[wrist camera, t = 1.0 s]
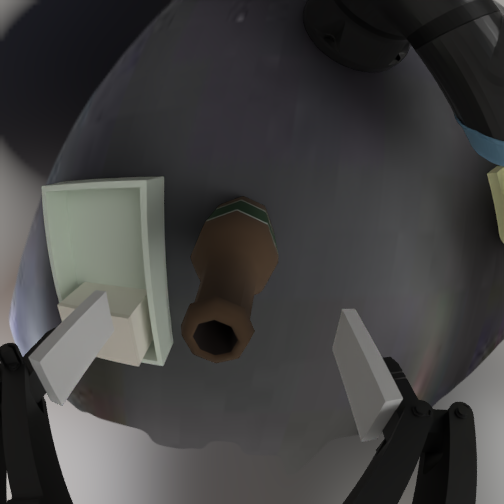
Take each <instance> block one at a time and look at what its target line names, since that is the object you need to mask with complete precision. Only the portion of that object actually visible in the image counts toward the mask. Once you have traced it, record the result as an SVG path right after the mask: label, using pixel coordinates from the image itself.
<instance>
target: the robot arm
mask: <svg viewBox="0 0 504 504" xmlns="http://www.w3.org/2000/svg"><path fill="white" fill-rule="evenodd" d="M303 19H304V25H305V28H306V31H307V33H308V35H309V36H310V38H311V39H312V41H313V42H314V43H315V45H316V46H317V47H318V48H319V49H320V50H321V51H322V52H323V53H325V54H326V55H327V56H329V57H330V58H331V59H333V60H335V61H336V62H338V63H340V64H342V65H344V66H346V67H349V68H351V69H355V70H358V71H364V72H381V71H385V70H387V69H390V68H391V67H393V66H395V65H396V64H398V63H399V62H401V61H402V60H403V59H404V58H405V56H406V55H407V53H408V51H409V48H410V46H412V47H413V48H414V49H415V51H416V53H417V54H418V55H419V57H420V58H421V59H422V61H423V62H424V64H425V65H426V67H427V68H428V69H429V71H430V72H431V74H432V75H433V77H434V79H435V80H436V82H437V83H438V85H439V87H440V88H441V90H442V92H443V94H444V95H445V97H446V99H447V101H448V103H449V104H450V106H451V108H452V110H453V112H454V116H455V119H456V120H457V122H458V123H459V124H460V125H461V126H462V128H463V130H464V132H465V134H466V136H467V138H468V140H469V142H470V144H471V146H472V147H473V149H474V150H475V151H476V152H477V153H478V154H479V155H480V156H482V157H484V158H485V159H486V160H488V161H489V162H492V163H494V164H497V165H500V166H504V15H502V13H501V12H500V10H499V9H498V8H497V6H496V5H495V3H494V2H493V1H492V0H308V1H307V3H306V6H305V9H304V15H303ZM113 332H114V327H113V323H112V318H111V313H110V309H109V304H108V299H107V293H106V291H99V290H95V291H94V292H93V293H92V294H91V295H90V296H89V297H88V298H87V299H85V300H84V301H83V302H82V303H81V304H80V305H79V306H78V307H77V308H76V309H75V310H74V311H73V312H72V313H71V314H70V315H69V316H68V317H67V318H66V319H65V320H64V321H63V322H62V323H61V324H60V325H59V326H58V327H57V328H53V329H52V330H50V331H48V332H47V333H46V334H45V335H44V336H43V337H42V338H41V339H40V340H39V341H38V342H37V344H35V345H34V346H33V347H32V348H31V349H30V350H29V351H28V352H27V353H26V354H25V356H24V357H22V355H21V353H20V351H19V348H18V346H17V345H16V344H14V343H7V344H4V345H2V346H1V347H0V504H73V502H72V500H71V498H70V495H69V492H68V489H67V486H66V484H65V481H64V478H63V475H62V471H61V468H60V465H59V461H58V458H57V455H56V451H55V447H54V442H53V439H52V434H51V429H50V424H49V419H48V413H47V407H46V401H45V399H44V397H43V396H44V395H45V394H46V393H47V395H48V396H49V398H50V400H51V401H52V402H55V403H57V404H59V405H62V406H63V404H64V403H65V401H66V400H67V398H68V397H69V395H70V393H71V392H72V390H73V389H74V387H75V386H76V384H77V383H78V381H79V380H80V379H81V377H82V376H83V374H84V373H85V371H86V370H87V368H88V367H89V365H90V364H91V363H92V361H93V360H94V358H95V357H96V356H97V354H98V353H99V351H100V350H101V349H102V347H103V346H104V344H105V343H106V342H107V340H108V339H109V338H110V336H111V335H112V334H113ZM332 351H333V353H334V356H335V359H336V362H337V365H338V368H339V371H340V375H341V378H342V381H343V384H344V387H345V390H346V393H347V396H348V400H349V403H350V406H351V409H352V413H353V416H354V419H355V423H356V426H357V429H358V433H359V436H360V440H361V441H362V442H363V441H369V440H374V439H378V437H379V436H380V434H381V433H382V431H383V434H384V437H385V439H384V440H383V442H382V443H381V444H380V446H379V447H378V448H377V449H376V451H377V452H376V454H375V456H374V457H373V459H372V461H371V462H370V464H369V466H368V467H367V469H366V470H365V472H364V474H363V475H362V477H361V478H360V480H359V481H358V483H357V484H356V486H355V487H354V489H353V490H352V491H351V493H350V494H349V496H348V497H347V498H346V500H345V501H344V502H343V504H398V502H399V500H400V498H401V496H402V494H403V492H404V490H405V488H406V486H407V484H408V482H409V480H410V478H411V476H412V473H413V471H414V469H415V467H416V464H417V461H418V459H419V457H420V461H419V468H418V475H417V482H416V487H415V492H414V497H413V502H412V504H475V501H476V486H477V452H476V437H475V425H474V416H473V412H472V409H471V408H470V406H469V405H467V404H466V403H463V402H455V403H453V404H452V405H451V406H450V408H449V409H448V410H435V409H433V408H432V407H431V406H430V405H429V403H427V402H425V401H422V400H418V398H417V396H416V395H415V393H414V391H413V389H412V387H411V385H410V384H409V382H408V380H407V379H406V376H405V375H404V373H402V369H401V368H400V366H399V364H398V363H397V362H396V361H395V360H394V359H392V358H391V357H386V358H382V356H381V355H380V353H379V351H378V349H377V347H376V345H375V343H374V342H373V340H372V338H371V336H370V334H369V333H368V331H367V329H366V327H365V325H364V324H363V322H362V320H361V318H360V317H359V315H358V313H357V311H356V310H355V309H342V312H341V316H340V320H339V324H338V328H337V332H336V336H335V340H334V344H333V347H332ZM6 473H8V479H9V484H10V489H11V493H12V499H11V500H8V501H7V498H6Z"/></svg>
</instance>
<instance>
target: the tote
mask: <svg viewBox="0 0 504 504" xmlns="http://www.w3.org/2000/svg"><path fill="white" fill-rule="evenodd" d="M42 203H43V214H44V224H45V232H46V240H47V246H48V253H49V258H50V264H51V269H52V274H53V279H54V283H55V288H56V292H57V296H58V300H59V303H60V302H61V301H63V300H64V299H65V298H66V297H67V296H68V295H70V294H71V293H72V292H73V291H74V290H75V289H77V288H78V287H79V286H80V285H81V284H83V283H84V282H90V283H97V284H105V285H113V286H121V287H129V288H137V289H146V291H147V299H148V307H149V314H150V321H151V327H152V334H153V340H152V342H151V344H150V346H149V348H148V350H147V352H146V354H145V356H144V358H143V359H142V361H141V362H143V363H148V364H154V365H160V366H164V363H165V361H166V358H167V356H168V354H169V351H170V349H171V347H172V344H173V336H172V327H171V318H170V308H169V297H168V285H167V271H166V254H165V229H164V177H122V178H102V179H87V180H74V181H64V182H60V183H55V184H50V185H46V186H42Z"/></svg>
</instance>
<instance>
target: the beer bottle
mask: <svg viewBox="0 0 504 504" xmlns="http://www.w3.org/2000/svg"><path fill="white" fill-rule="evenodd" d="M191 261H192V264H193V266H194V268H195V271H196V273H197V275H198V277H199V279H200V282H201V283H200V286H199V289H198V293H197V296H196V299H195V303H191V304H190V305H189V308H188V310H187V312H186V315H185V317H184V320H183V322H182V324H181V330H182V336H183V338H184V340H185V342H186V343H187V345H188V347H189V348H190V350H191V352H192V353H193V354H194V355H196V356H199V357H201V358H204V359H206V360H209V361H211V362H214V363H219V362H224V361H229V360H233V359H237V358H239V357H240V355H241V354H242V352H243V351H244V349H245V347H246V346H247V344H248V342H249V341H250V339H251V337H252V335H253V333H254V332H255V330H254V328H253V326H252V323H251V321H250V315H251V309H252V303H253V297H254V295H255V294H259V293H260V292H261V291H262V290H263V289H264V287H265V285H266V283H267V281H268V280H269V278H270V276H271V274H272V272H273V271H274V269H275V267H276V265H277V263H278V251H277V246H276V241H275V236H274V231H273V228H272V225H271V222H270V219H269V217H268V214H267V211H266V208H265V206H264V205H262V204H259V203H257V202H255V201H253V200H251V199H249V198H247V197H244V196H242V197H239V198H236V199H234V200H231V201H228V202H225V203H223V204H221V205H219V206H218V207H217V209H216V210H215V211H214V212H213V213H212V214H211V216H210V217H209V218H208V219H207V220H206V222H205V224H204V226H203V228H202V230H201V233H200V235H199V237H198V240H197V242H196V245H195V247H194V249H193V252H192V254H191Z"/></svg>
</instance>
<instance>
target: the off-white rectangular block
mask: <svg viewBox="0 0 504 504" xmlns="http://www.w3.org/2000/svg"><path fill="white" fill-rule="evenodd" d="M95 290H99V291H106V293H107V299H108V304H109V309H110V313H111V318H112V323H113V327H114V332H113V334H112V335H111V336H110V338H109V339H108V340H107V342H106V343H105V344H104V346H103V347H102V349H101V350H100V351H99V353H98V354H97V356H96V357H99V358H102V359H107V360H111V361H115V362H119V363H124V364H128V365H133V366H138V367H139V365H140V363H141V361H142V359H143V358H144V356H145V354H146V352H147V350H148V348H149V346H150V344H151V342H152V340H153V334H152V327H151V321H150V314H149V307H148V299H147V291H146V289H137V288H129V287H121V286H113V285H105V284H97V283H90V282H84V283H83V284H81V285H80V286H79V287H78V288H77V289H75V290H74V291H73V292H72V293H71V294H70V295H68V296H67V297H66V298H65V299H64V300H63V301H61V302H60V303H59V304H58V305H57V306H58V309H59V313H60V316H61V320H62V322H63V321H64V320H65V319H66V318H67V317H68V316H69V315H70V314H71V313H72V312H73V311H74V310H75V309H76V308H77V307H78V306H79V305H80V304H81V303H82V302H83V301H84V300H85V299H87V298H88V297H89V296H90V295H91V294H92V293H93V292H94V291H95Z"/></svg>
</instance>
